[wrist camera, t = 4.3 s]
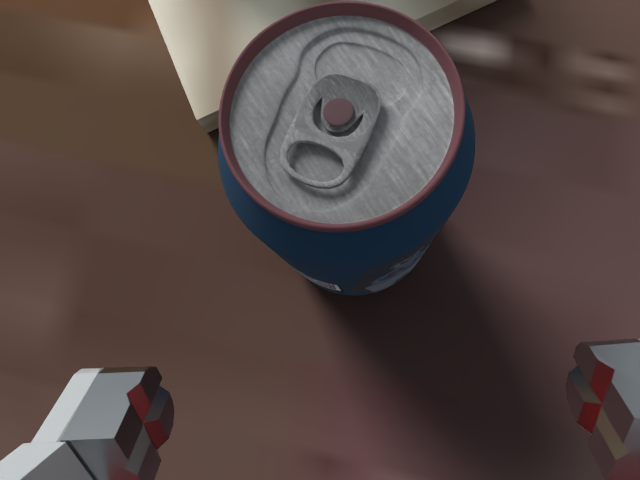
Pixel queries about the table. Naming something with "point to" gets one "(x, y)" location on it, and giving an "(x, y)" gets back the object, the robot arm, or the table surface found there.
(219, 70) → the shelf plank
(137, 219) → the table surface
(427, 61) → the soda can
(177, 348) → the table surface
